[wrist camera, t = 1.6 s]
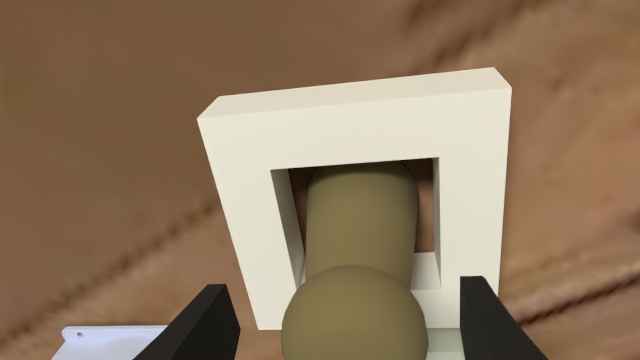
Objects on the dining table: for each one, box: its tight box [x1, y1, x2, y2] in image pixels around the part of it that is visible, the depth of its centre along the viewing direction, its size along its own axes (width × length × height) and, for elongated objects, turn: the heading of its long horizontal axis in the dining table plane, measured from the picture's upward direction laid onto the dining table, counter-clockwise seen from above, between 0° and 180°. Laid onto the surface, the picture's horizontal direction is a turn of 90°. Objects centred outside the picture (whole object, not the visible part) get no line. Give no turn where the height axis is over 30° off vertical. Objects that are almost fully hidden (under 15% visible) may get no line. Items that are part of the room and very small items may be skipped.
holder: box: [197, 67, 512, 330], centre depth 22 cm, size 13×13×3 cm
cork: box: [281, 160, 429, 360], centre depth 19 cm, size 6×6×11 cm
